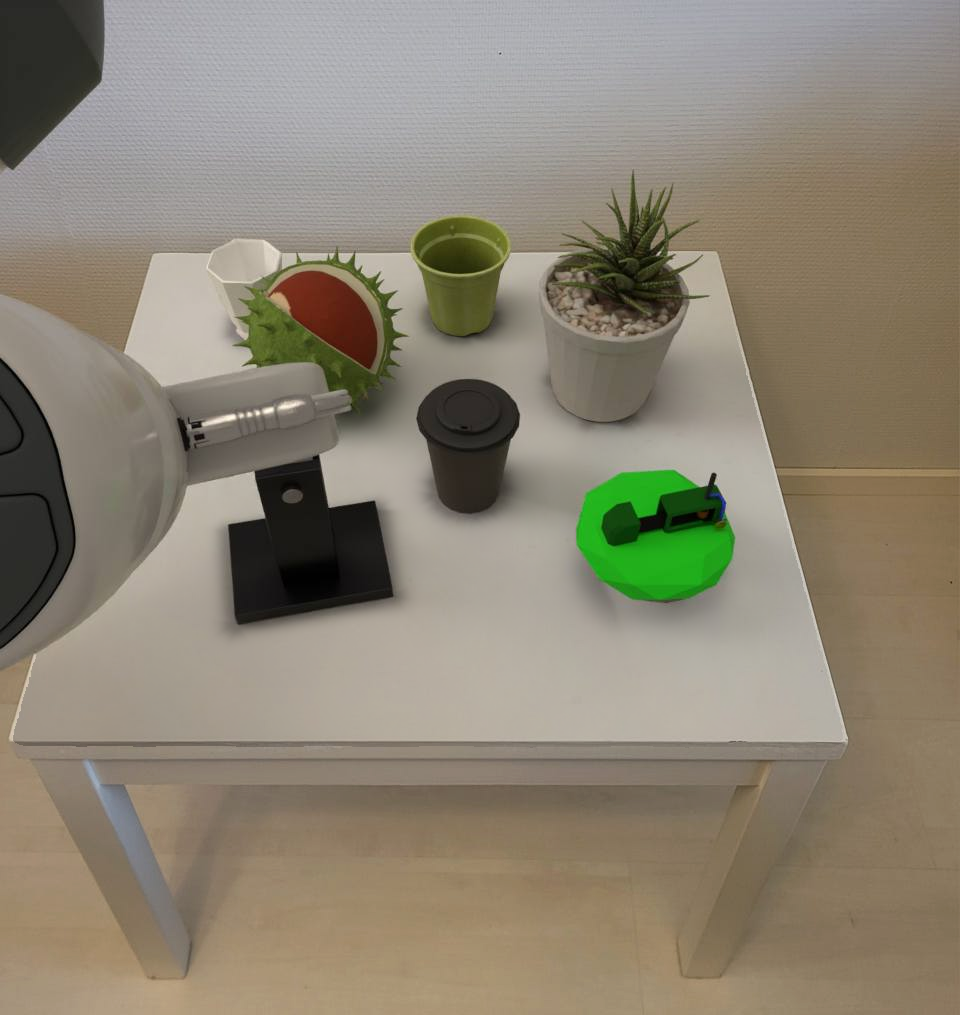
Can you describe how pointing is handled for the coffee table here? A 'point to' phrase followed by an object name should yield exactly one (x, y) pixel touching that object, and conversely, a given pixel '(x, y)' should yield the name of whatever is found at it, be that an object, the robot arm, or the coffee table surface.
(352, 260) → the chestnut
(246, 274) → the cup
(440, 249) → the plant pot
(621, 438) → the coffee table surface
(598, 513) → the green rounded piece
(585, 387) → the potted plant
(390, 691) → the coffee table surface
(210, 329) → the coffee table surface
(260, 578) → the black lever stand
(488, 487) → the coffee cup
